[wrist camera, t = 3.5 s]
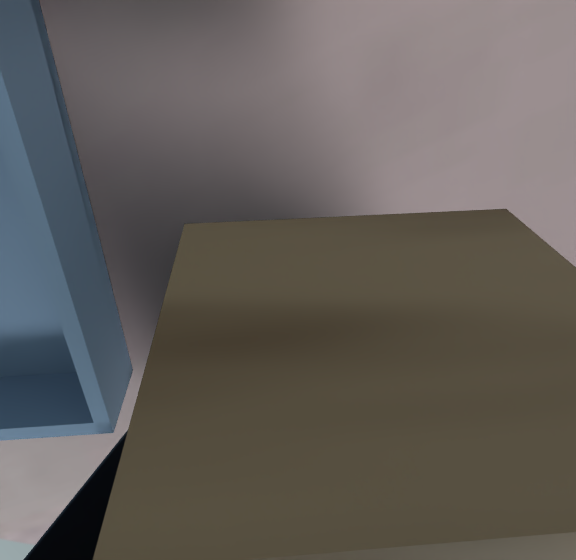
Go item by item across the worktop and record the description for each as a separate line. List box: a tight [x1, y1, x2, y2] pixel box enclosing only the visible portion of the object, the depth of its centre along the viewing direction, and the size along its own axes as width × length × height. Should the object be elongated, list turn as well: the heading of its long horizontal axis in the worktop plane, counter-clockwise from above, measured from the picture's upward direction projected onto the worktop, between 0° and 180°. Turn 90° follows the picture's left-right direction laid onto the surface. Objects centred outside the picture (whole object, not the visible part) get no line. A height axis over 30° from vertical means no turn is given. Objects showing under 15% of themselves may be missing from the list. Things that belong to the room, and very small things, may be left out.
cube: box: [93, 209, 576, 560], centre depth 6 cm, size 5×5×5 cm
